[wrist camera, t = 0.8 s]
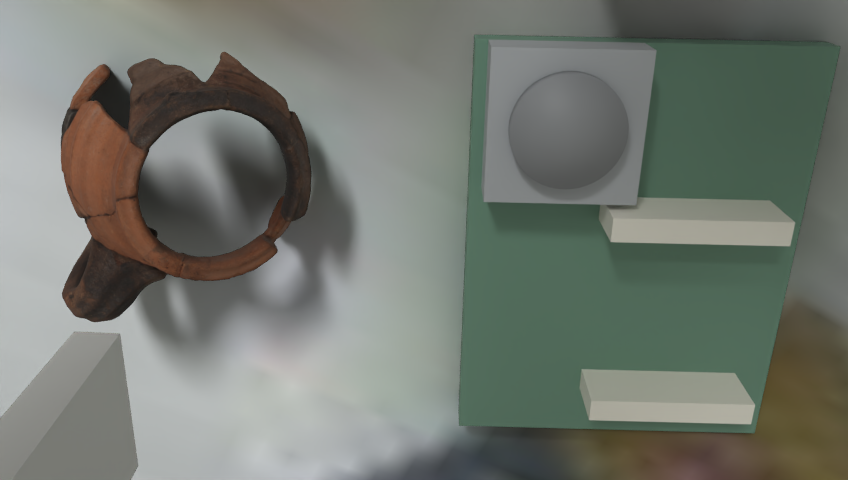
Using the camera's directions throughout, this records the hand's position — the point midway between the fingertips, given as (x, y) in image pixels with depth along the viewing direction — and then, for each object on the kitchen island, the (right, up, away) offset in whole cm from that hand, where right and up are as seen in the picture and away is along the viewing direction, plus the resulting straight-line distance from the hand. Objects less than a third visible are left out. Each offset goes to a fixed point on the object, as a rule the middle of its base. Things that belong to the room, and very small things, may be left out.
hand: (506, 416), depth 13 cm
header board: (+7, +3, +21) cm, 23 cm away
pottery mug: (-12, +6, +20) cm, 24 cm away
